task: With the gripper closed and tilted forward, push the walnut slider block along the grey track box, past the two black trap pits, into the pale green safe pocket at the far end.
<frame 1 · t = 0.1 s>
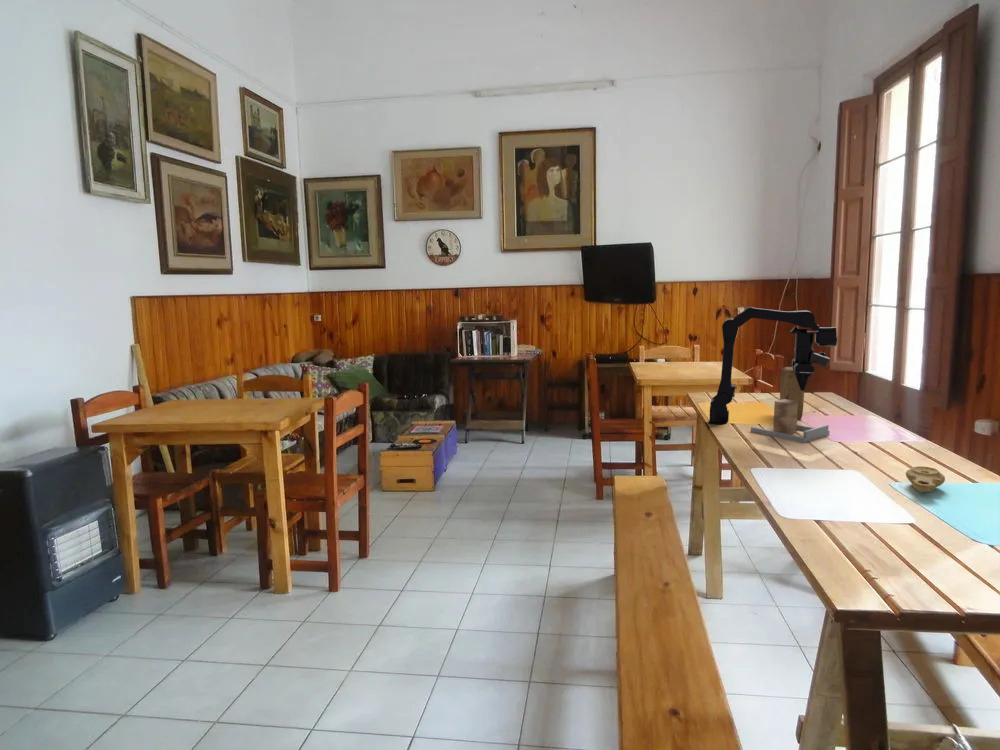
hand: (801, 388, 229), 15 cm above the table, tool pointing down, fingers open, 9 cm apart
oil lamp: (924, 490, 165), on the table
slider: (785, 416, 219), point 7 cm above the table, slide at 0.0 cm
block: (789, 418, 247), on the table
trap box: (789, 437, 218), on the table
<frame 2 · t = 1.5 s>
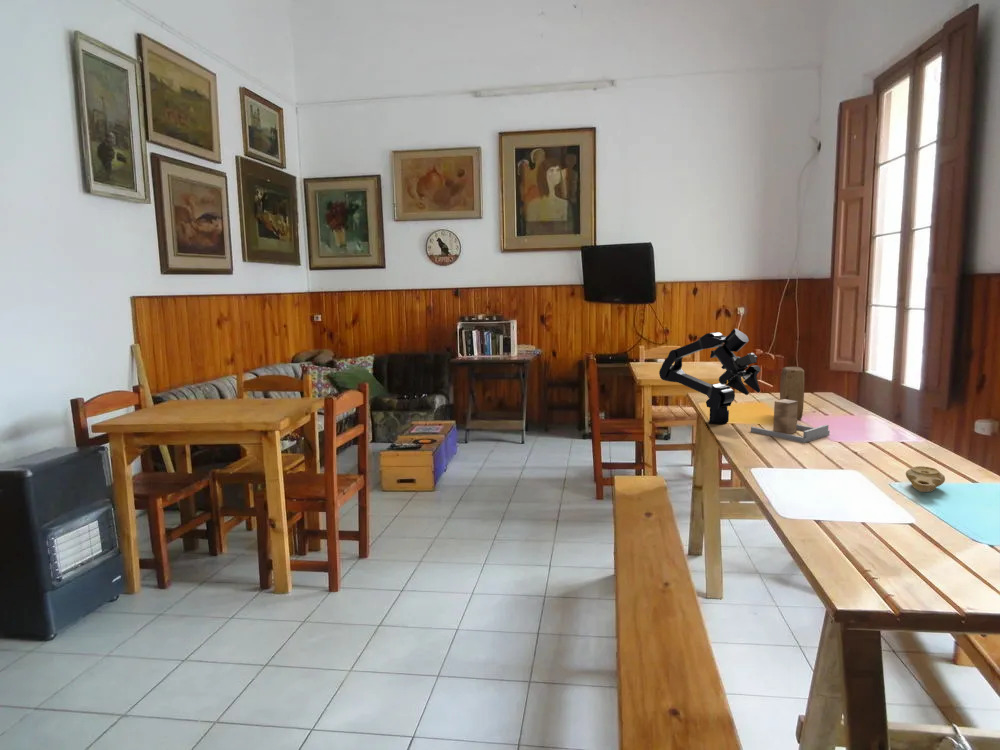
hand: (753, 393, 228), 14 cm above the table, tool tilted 45°, fingers open, 7 cm apart
nothing on the table moved.
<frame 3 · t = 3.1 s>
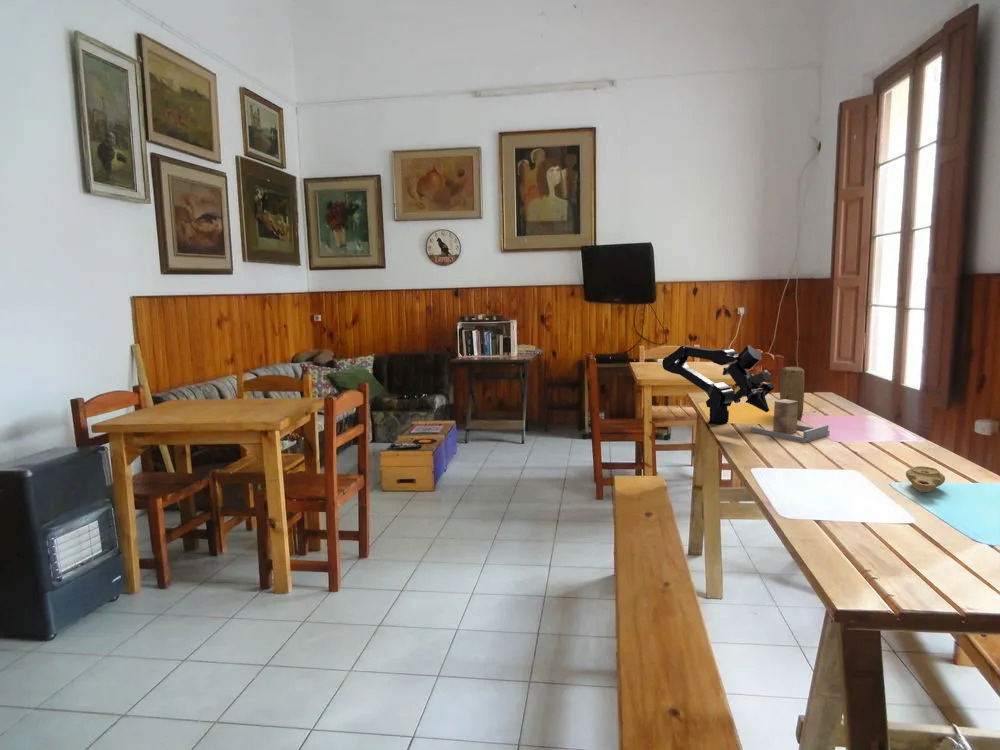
hand: (767, 411, 224), 8 cm above the table, tool tilted 45°, fingers closed
nothing on the table moved.
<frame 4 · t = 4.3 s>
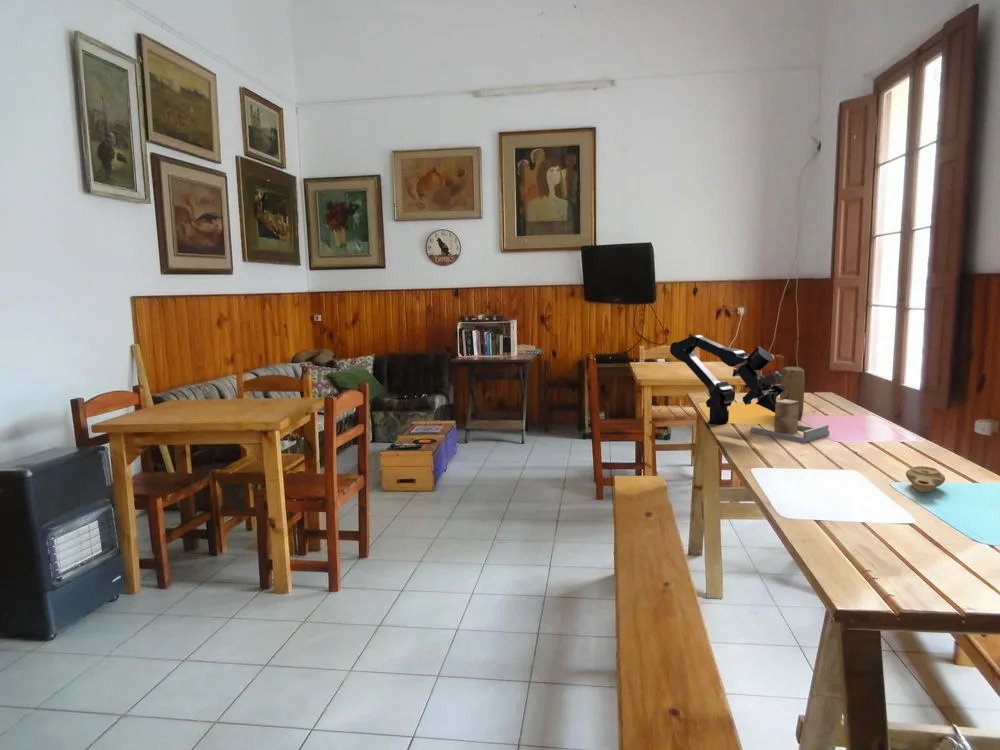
hand: (779, 413, 220), 8 cm above the table, tool tilted 45°, fingers closed, pressing on slider
slider: (786, 416, 218), point 7 cm above the table, slide at 0.4 cm, touching gripper
everything else where it was.
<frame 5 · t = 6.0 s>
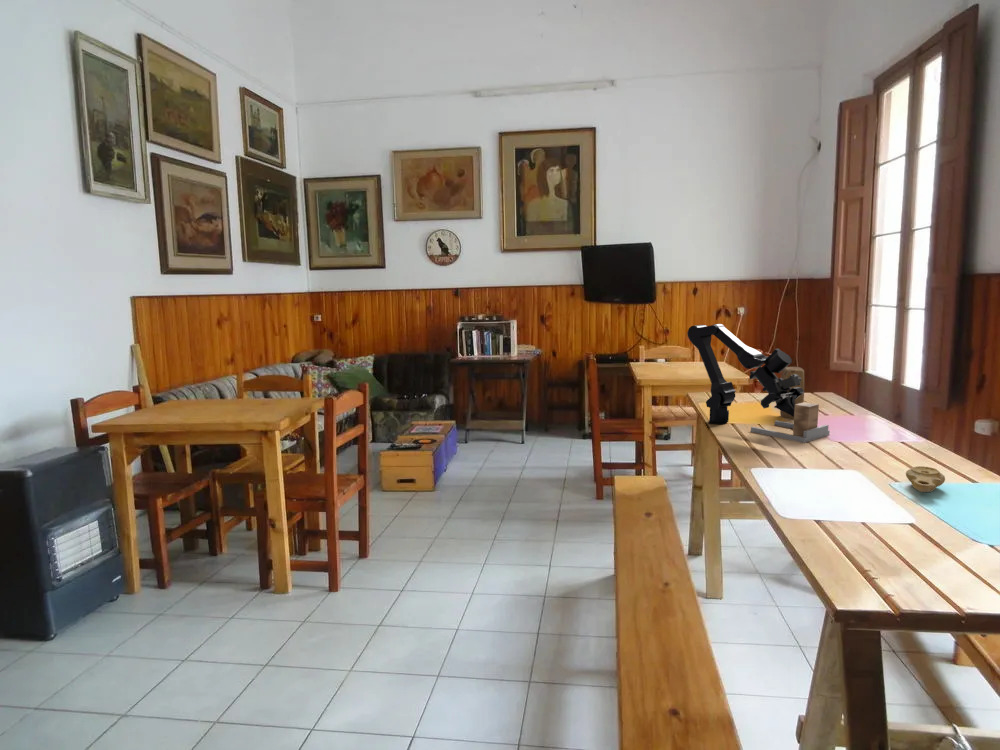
hand: (797, 417, 215), 8 cm above the table, tool tilted 45°, fingers closed, pressing on slider
slider: (805, 420, 213), point 7 cm above the table, slide at 7.3 cm, touching gripper
everything else where it was.
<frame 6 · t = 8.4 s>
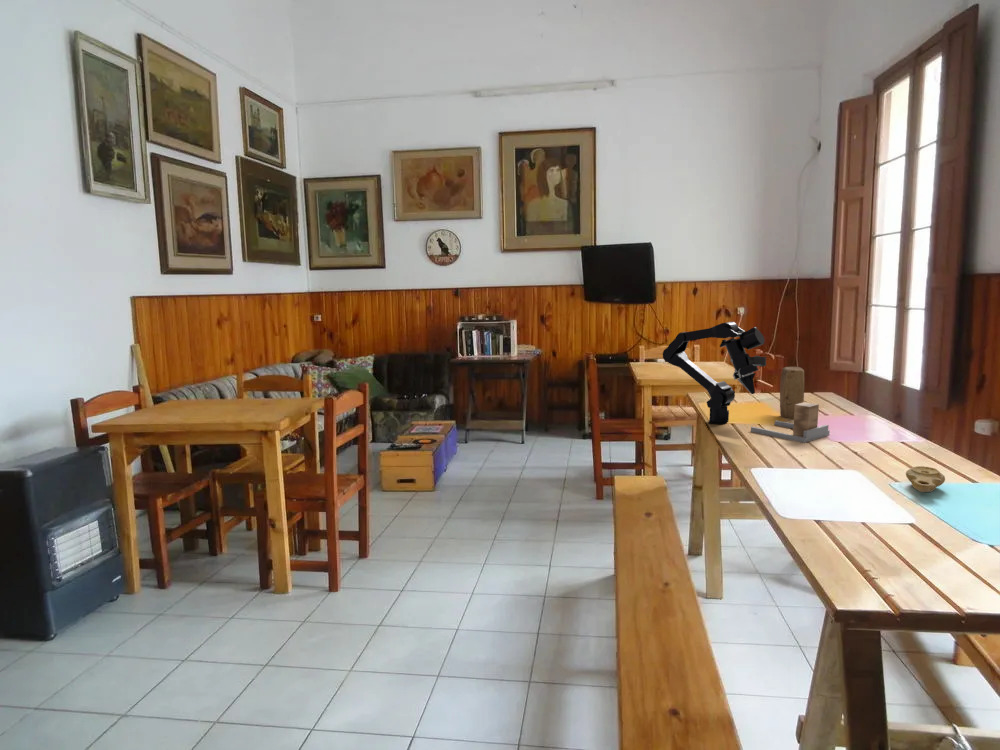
hand: (753, 393, 230), 13 cm above the table, tool tilted 25°, fingers closed
slider: (805, 420, 213), point 7 cm above the table, slide at 7.3 cm
everything else where it was.
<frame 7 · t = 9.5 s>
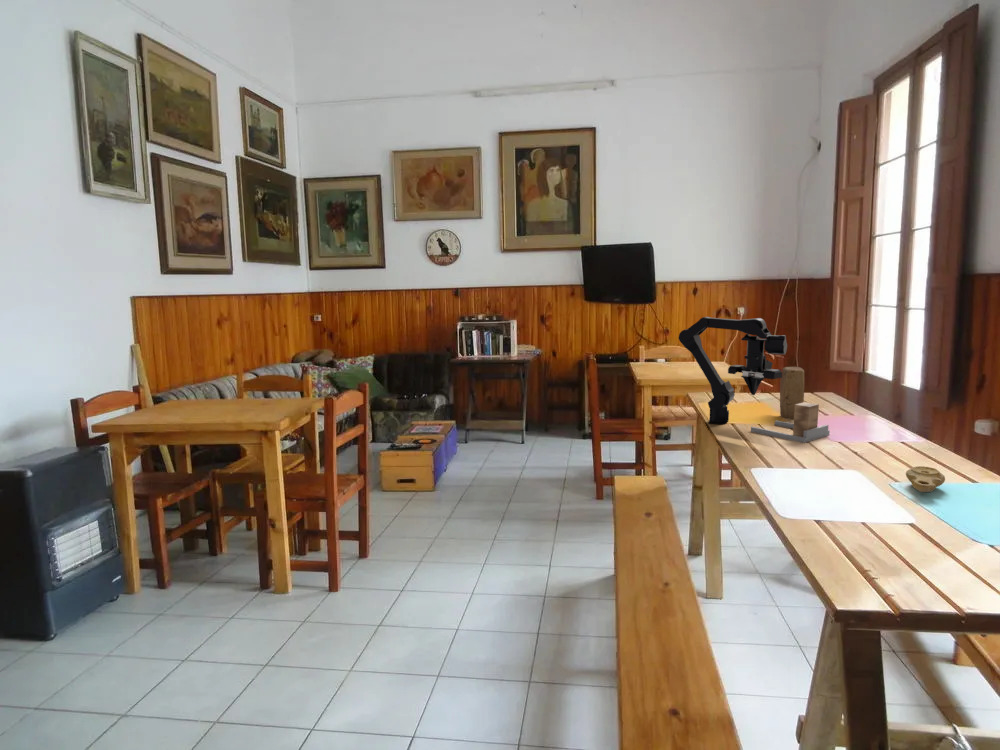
hand: (753, 394, 232), 12 cm above the table, tool pointing down, fingers closed
nothing on the table moved.
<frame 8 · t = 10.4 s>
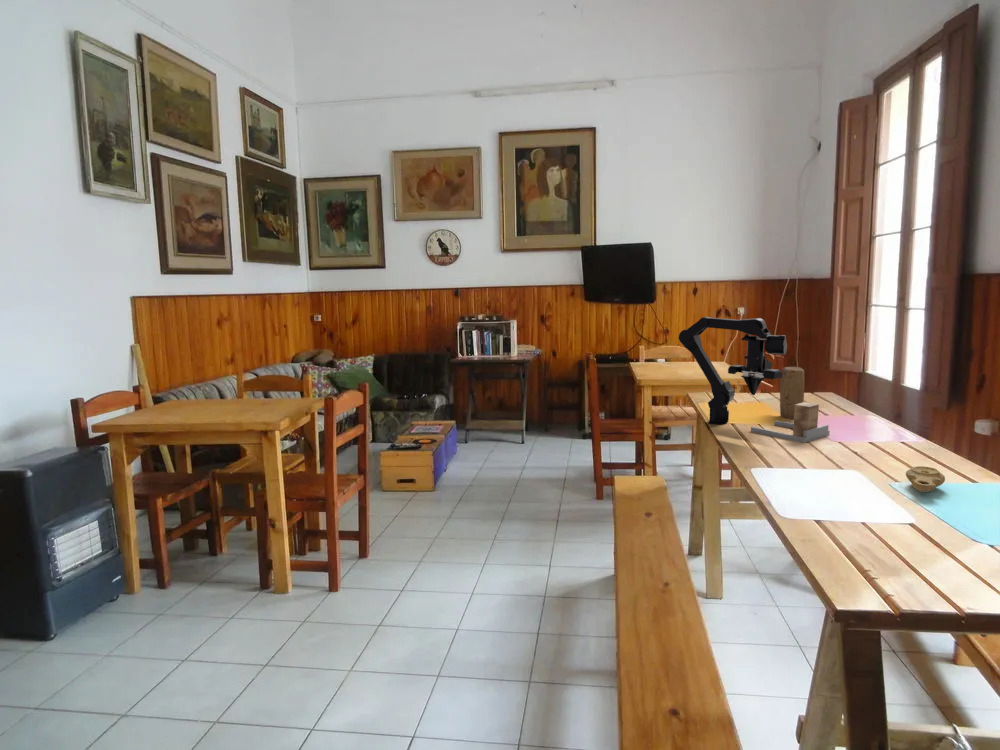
hand: (753, 394, 232), 12 cm above the table, tool pointing down, fingers closed
nothing on the table moved.
at the end: slider slide at 7.3 cm; block moved 0.2 cm from its start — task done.
